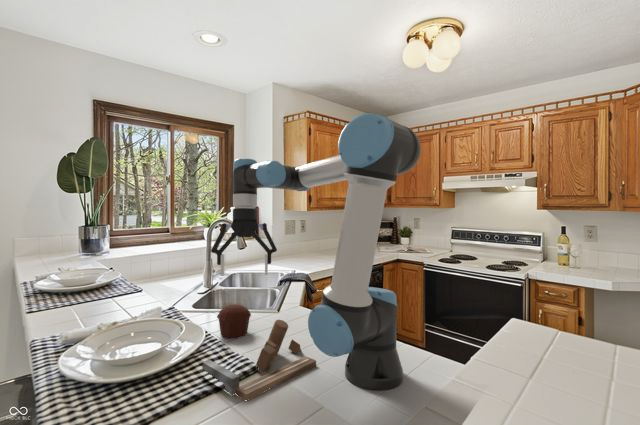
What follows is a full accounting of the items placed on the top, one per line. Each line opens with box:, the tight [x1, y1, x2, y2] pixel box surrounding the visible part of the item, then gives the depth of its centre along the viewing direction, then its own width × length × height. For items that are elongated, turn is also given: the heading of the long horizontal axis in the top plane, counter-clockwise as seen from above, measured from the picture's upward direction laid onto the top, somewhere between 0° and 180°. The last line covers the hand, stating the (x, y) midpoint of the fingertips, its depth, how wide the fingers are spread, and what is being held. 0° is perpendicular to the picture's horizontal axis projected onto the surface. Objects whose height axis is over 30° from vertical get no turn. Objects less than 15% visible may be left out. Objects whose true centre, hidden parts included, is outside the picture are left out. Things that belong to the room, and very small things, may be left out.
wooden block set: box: [255, 319, 301, 374], centre depth 96 cm, size 18×9×10 cm, turn 155°
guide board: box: [202, 356, 317, 401], centre depth 88 cm, size 17×25×4 cm
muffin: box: [216, 303, 252, 340], centre depth 116 cm, size 12×11×10 cm
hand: (244, 275), depth 104 cm, fingers open, 13 cm apart
